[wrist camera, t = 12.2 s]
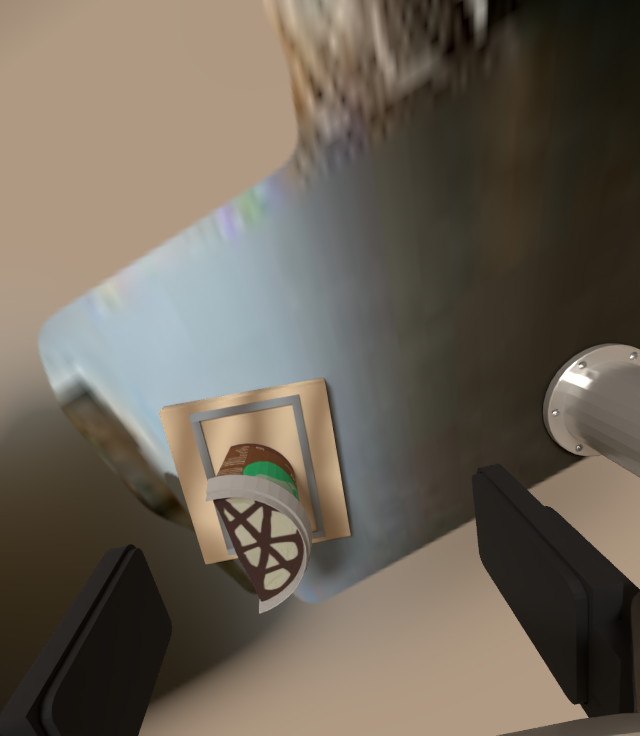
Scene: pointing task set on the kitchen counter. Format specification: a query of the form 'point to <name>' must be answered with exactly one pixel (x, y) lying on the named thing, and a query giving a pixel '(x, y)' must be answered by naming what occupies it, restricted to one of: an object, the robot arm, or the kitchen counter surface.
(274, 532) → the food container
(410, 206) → the kitchen counter surface
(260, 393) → the base board
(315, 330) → the kitchen counter surface
